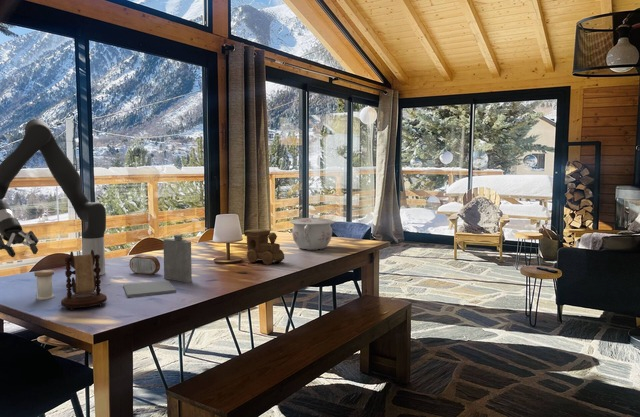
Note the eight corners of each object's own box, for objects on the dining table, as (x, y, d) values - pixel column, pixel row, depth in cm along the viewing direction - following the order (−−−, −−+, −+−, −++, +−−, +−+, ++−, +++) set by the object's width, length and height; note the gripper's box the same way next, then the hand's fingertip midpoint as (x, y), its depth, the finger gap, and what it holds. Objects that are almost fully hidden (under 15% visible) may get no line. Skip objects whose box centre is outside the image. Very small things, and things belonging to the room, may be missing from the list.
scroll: (65, 314, 165) (62, 255, 163) (58, 304, 177) (55, 249, 175) (111, 307, 174) (109, 251, 172) (101, 297, 186) (100, 245, 184)
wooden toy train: (243, 261, 257) (242, 230, 256) (257, 258, 266) (257, 228, 265) (272, 266, 246) (272, 233, 244) (286, 262, 255) (286, 231, 254)
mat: (123, 286, 202) (123, 284, 202) (168, 282, 210) (168, 280, 210) (127, 297, 186) (127, 294, 186) (175, 292, 194) (175, 289, 194)
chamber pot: (315, 243, 320) (315, 211, 318) (343, 249, 298) (344, 215, 297) (280, 247, 302) (280, 214, 300) (307, 254, 281) (307, 218, 279)
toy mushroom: (31, 298, 184) (30, 272, 183) (48, 294, 190) (47, 269, 189) (42, 300, 181) (41, 274, 180) (58, 296, 187) (57, 271, 186)
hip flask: (162, 278, 219) (161, 233, 217) (169, 276, 222) (168, 232, 220) (187, 282, 210) (186, 236, 208) (194, 281, 214) (194, 235, 212)
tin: (160, 274, 227) (160, 256, 226) (156, 275, 224) (156, 257, 223) (132, 272, 231) (132, 254, 231) (128, 273, 228) (128, 255, 228)
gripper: (-9, 218, 186) (9, 250, 182) (28, 215, 199) (46, 245, 194) (-16, 231, 189) (2, 263, 185) (21, 227, 202) (39, 257, 197)
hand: (25, 254), depth 189 cm, fingers open, 8 cm apart
